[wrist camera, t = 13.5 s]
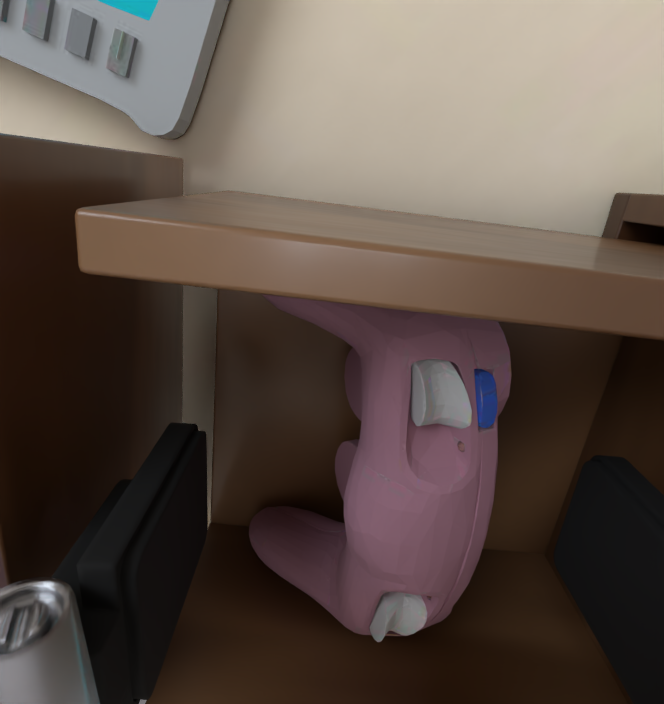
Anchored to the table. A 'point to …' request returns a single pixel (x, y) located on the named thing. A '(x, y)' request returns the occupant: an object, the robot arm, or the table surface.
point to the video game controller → (399, 469)
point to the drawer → (309, 412)
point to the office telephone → (120, 52)
